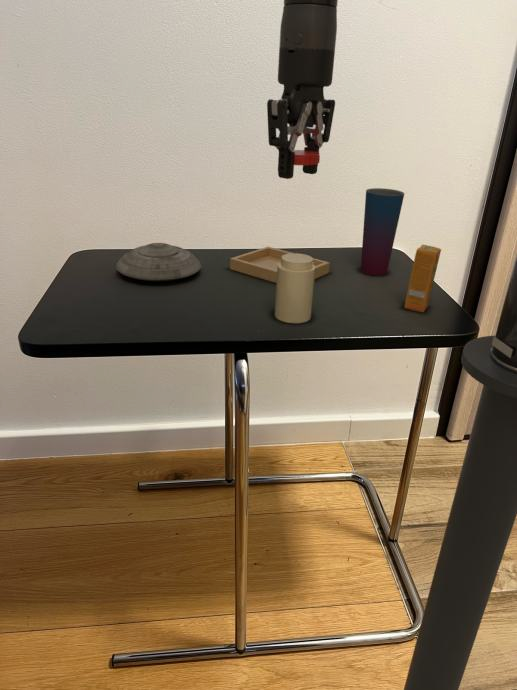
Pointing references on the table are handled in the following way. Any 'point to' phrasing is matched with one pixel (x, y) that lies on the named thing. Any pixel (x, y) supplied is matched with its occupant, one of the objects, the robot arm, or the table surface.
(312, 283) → the jar
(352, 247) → the table surface
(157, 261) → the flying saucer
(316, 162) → the lid
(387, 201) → the cup
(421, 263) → the supplement box
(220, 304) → the table surface
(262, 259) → the tray
